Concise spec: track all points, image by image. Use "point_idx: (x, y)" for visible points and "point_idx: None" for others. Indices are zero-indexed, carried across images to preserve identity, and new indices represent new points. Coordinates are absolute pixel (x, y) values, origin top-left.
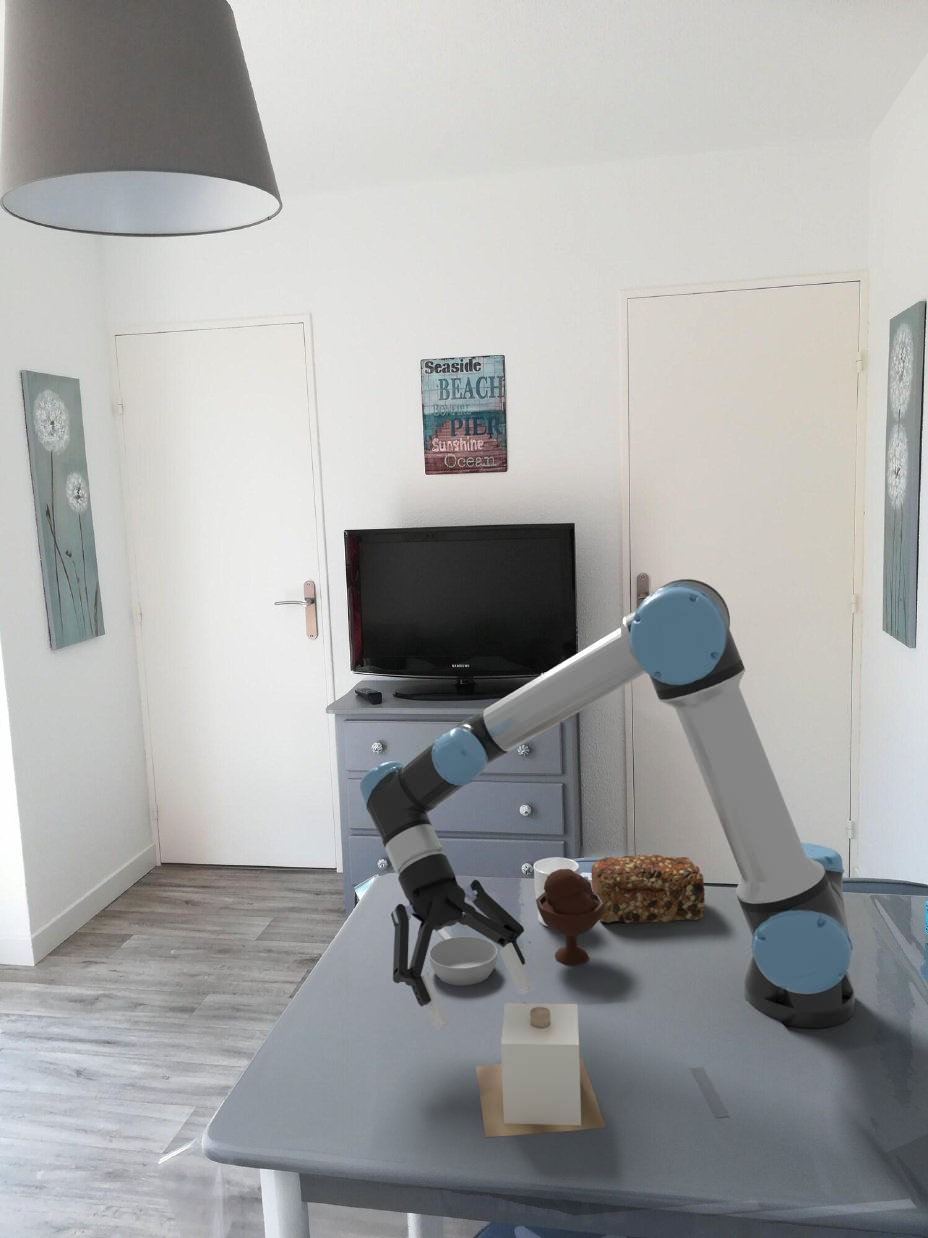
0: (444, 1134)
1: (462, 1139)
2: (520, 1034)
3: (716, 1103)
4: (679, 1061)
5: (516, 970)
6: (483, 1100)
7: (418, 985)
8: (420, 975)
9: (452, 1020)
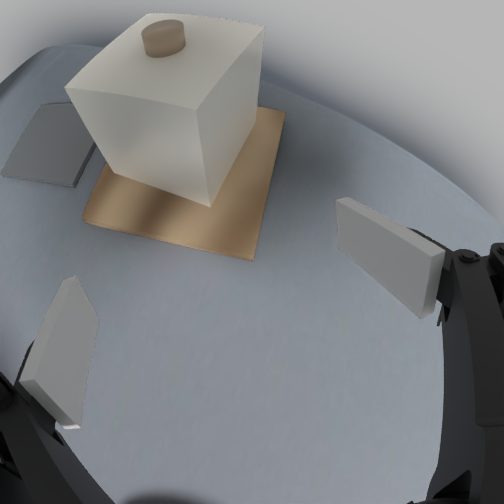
0: (329, 155)
1: (308, 140)
2: (220, 31)
3: (34, 120)
4: (3, 200)
5: (68, 326)
6: (268, 168)
7: (442, 248)
8: (452, 254)
9: (244, 449)
